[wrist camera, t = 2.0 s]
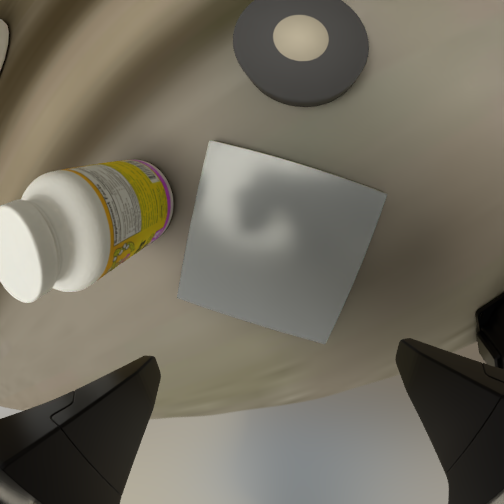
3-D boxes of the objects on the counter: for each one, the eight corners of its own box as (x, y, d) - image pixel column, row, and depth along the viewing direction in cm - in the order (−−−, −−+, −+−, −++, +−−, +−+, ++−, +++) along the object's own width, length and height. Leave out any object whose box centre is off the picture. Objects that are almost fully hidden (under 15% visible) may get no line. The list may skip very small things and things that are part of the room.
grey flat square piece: (382, 191, 19) (387, 194, 18) (324, 335, 23) (325, 344, 22) (214, 140, 20) (209, 140, 19) (182, 291, 24) (176, 297, 23)
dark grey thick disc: (316, -9, 15) (317, -31, 12) (382, 76, 16) (395, 64, 13) (221, 40, 17) (208, 24, 14) (283, 128, 19) (279, 123, 16)
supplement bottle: (115, 246, 24) (3, 318, 12) (98, 169, 22) (-33, 201, 10) (185, 236, 22) (76, 326, 10) (168, 149, 20) (31, 163, 8)
